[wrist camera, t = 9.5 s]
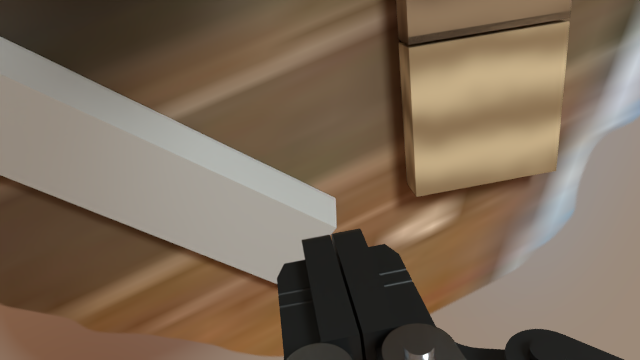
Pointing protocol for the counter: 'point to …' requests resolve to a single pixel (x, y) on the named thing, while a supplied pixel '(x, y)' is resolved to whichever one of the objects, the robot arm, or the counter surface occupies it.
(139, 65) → the counter surface
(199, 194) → the decorative molding
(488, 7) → the wooden block
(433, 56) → the oak plank
